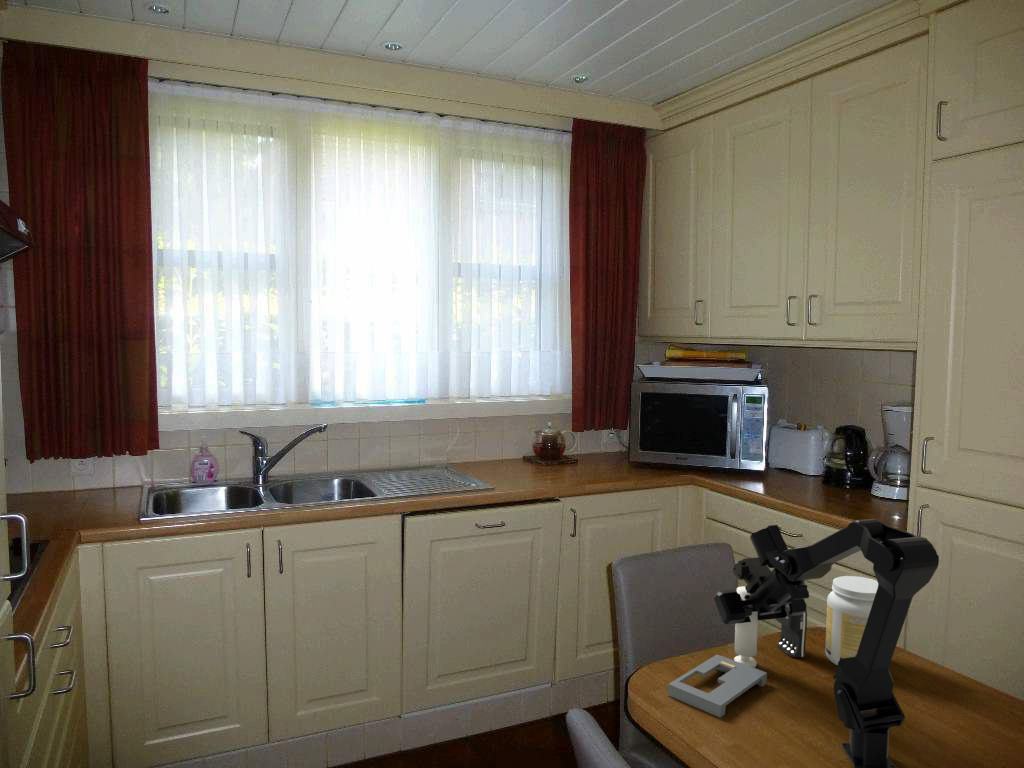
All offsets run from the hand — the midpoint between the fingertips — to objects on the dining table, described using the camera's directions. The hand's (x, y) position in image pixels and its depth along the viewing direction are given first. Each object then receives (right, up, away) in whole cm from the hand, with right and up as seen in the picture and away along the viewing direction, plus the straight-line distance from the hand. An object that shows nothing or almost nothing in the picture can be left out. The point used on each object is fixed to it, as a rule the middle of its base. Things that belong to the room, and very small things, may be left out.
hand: (742, 619), depth 155 cm
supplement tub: (+24, -9, +1) cm, 26 cm away
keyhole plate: (-8, -10, -11) cm, 17 cm away
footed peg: (0, -9, 0) cm, 9 cm away
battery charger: (+12, -9, +5) cm, 16 cm away
